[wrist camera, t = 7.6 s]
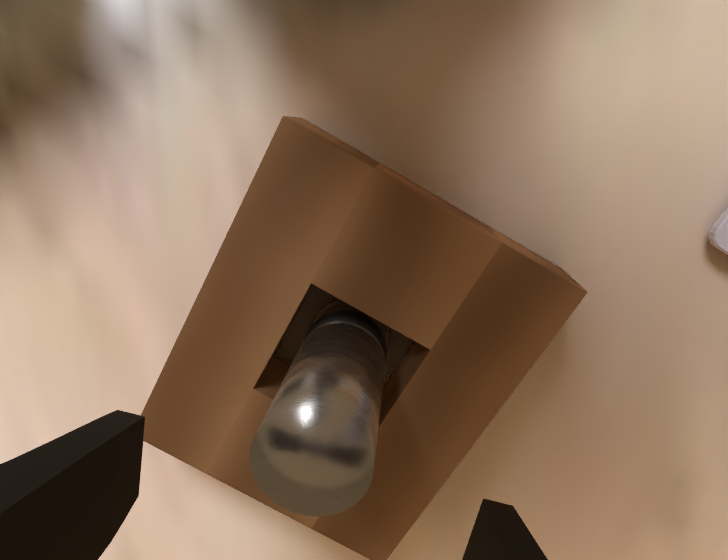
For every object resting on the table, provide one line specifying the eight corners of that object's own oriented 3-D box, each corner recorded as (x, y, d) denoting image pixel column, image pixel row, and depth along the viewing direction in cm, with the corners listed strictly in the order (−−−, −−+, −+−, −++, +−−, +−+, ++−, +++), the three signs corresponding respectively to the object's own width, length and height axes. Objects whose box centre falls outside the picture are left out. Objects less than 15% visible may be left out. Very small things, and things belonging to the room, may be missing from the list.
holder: (562, 269, 17) (587, 292, 15) (385, 514, 20) (382, 565, 18) (301, 117, 16) (283, 116, 14) (165, 397, 20) (131, 434, 17)
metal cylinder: (375, 378, 19) (353, 531, 12) (304, 355, 19) (237, 494, 12) (398, 311, 18) (389, 431, 11) (323, 287, 18) (264, 393, 11)
